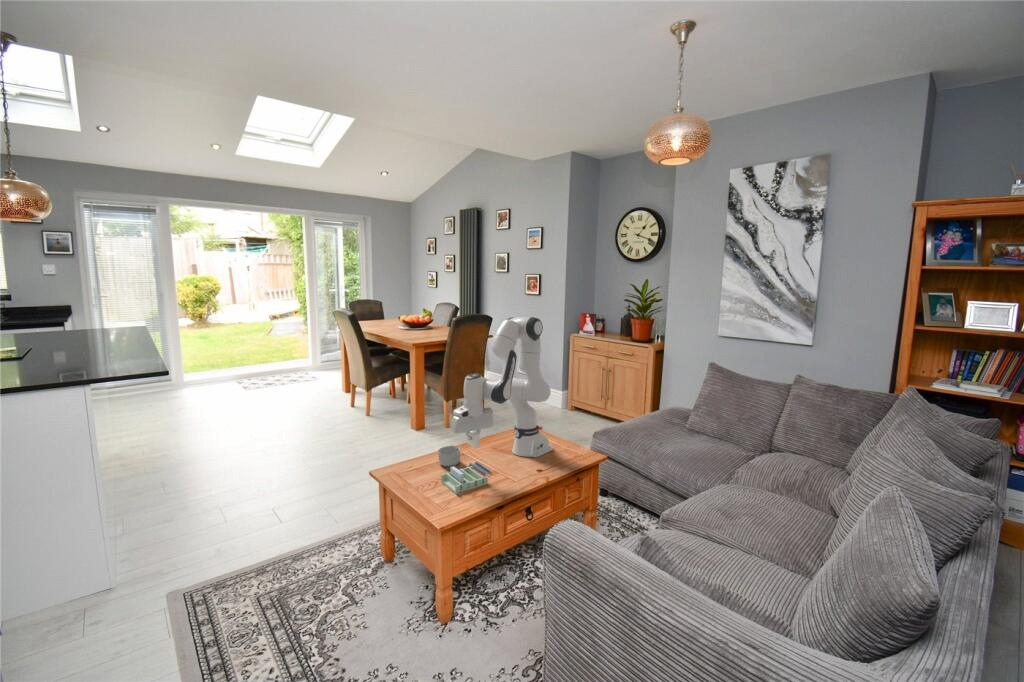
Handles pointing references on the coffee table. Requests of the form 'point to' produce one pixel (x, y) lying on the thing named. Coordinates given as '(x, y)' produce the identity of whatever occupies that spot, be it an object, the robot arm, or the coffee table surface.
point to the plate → (473, 439)
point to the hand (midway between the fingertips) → (472, 439)
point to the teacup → (449, 455)
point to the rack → (462, 479)
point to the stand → (480, 468)
